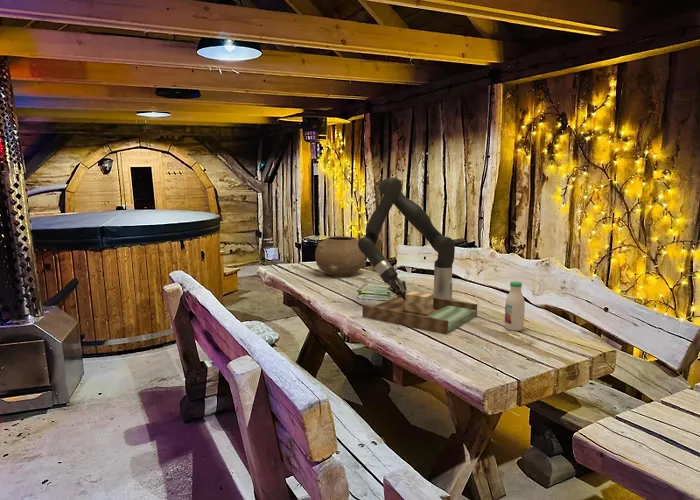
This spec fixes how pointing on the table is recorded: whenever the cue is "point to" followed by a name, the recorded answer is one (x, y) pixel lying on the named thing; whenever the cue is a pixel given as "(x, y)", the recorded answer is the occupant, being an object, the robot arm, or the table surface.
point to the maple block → (419, 302)
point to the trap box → (424, 314)
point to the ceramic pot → (339, 256)
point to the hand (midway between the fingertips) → (407, 300)
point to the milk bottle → (514, 308)
